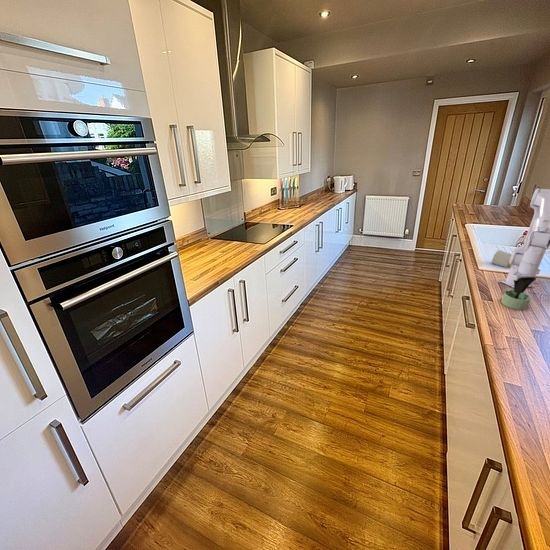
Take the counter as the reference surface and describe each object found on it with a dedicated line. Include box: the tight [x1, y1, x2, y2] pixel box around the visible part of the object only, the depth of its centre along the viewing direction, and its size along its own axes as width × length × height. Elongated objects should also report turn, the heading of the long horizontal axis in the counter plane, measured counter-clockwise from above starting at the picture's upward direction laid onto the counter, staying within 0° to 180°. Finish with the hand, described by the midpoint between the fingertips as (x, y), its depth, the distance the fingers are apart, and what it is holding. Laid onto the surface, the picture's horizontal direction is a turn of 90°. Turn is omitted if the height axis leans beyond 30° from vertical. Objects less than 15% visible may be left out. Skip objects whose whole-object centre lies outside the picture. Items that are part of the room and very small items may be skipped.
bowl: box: [500, 289, 532, 311], centre depth 121 cm, size 9×9×4 cm
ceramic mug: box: [491, 249, 512, 268], centre depth 156 cm, size 11×8×8 cm
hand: (518, 292), depth 119 cm, fingers closed
